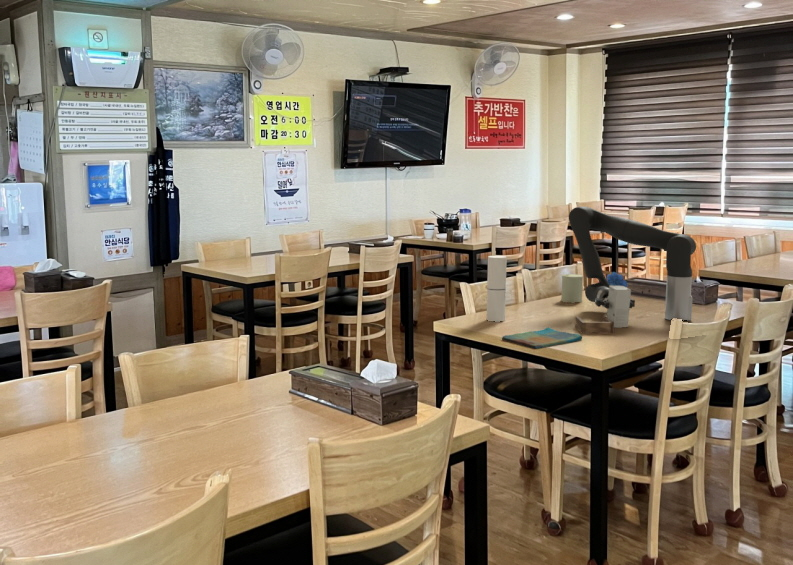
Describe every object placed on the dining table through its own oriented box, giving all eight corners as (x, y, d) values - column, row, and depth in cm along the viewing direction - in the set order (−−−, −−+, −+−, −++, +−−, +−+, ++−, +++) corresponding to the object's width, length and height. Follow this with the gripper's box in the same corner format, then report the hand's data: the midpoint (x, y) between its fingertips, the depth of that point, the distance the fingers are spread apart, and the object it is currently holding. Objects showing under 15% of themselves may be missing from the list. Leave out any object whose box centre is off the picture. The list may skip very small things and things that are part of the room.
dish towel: (583, 341, 276) (584, 334, 276) (536, 351, 263) (536, 343, 262) (547, 333, 290) (547, 326, 290) (500, 341, 276) (500, 334, 276)
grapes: (599, 297, 362) (600, 271, 360) (607, 296, 367) (608, 270, 365) (621, 301, 354) (623, 274, 352) (629, 299, 358) (631, 273, 356)
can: (557, 299, 356) (558, 273, 354) (575, 298, 359) (576, 272, 357) (567, 303, 348) (568, 276, 346) (586, 302, 350) (587, 275, 348)
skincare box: (605, 323, 305) (607, 285, 302) (621, 323, 305) (622, 285, 303) (613, 328, 296) (615, 288, 294) (629, 327, 297) (631, 288, 295)
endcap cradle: (605, 327, 298) (606, 316, 297) (613, 333, 287) (614, 322, 286) (575, 327, 298) (575, 316, 297) (581, 333, 287) (582, 322, 286)
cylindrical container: (490, 322, 306) (492, 258, 302) (483, 319, 312) (485, 255, 309) (507, 321, 307) (509, 257, 304) (500, 318, 314) (502, 255, 310)
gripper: (590, 288, 313) (601, 295, 297) (626, 288, 313) (639, 295, 297) (590, 307, 314) (600, 315, 298) (626, 307, 314) (638, 315, 298)
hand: (619, 305), depth 298 cm, fingers open, 8 cm apart
